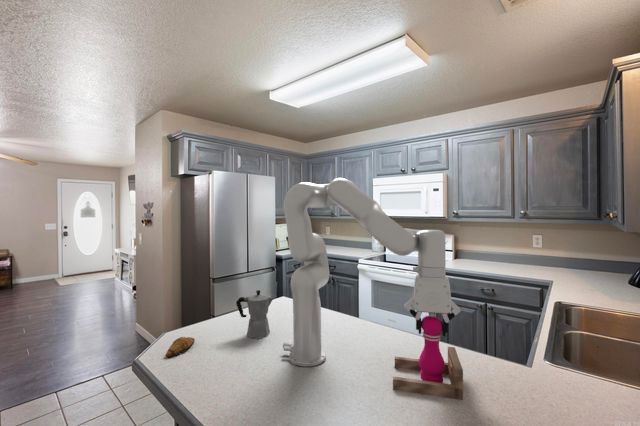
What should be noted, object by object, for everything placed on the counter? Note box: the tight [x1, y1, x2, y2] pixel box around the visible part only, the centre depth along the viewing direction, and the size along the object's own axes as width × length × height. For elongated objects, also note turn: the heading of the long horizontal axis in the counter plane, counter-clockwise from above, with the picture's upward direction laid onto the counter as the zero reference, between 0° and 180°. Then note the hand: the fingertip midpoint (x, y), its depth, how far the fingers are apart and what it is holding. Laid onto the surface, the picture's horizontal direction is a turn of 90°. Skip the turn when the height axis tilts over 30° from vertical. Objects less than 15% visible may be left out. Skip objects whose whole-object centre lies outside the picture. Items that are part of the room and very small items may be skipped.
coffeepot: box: [236, 289, 275, 339], centre depth 125 cm, size 15×9×18 cm, turn 103°
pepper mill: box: [418, 313, 445, 383], centre depth 89 cm, size 7×7×20 cm
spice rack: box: [392, 346, 464, 401], centre depth 89 cm, size 18×14×8 cm
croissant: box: [166, 336, 196, 359], centre depth 111 cm, size 14×7×5 cm, turn 165°
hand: (431, 332), depth 89 cm, fingers closed on pepper mill, 6 cm apart
